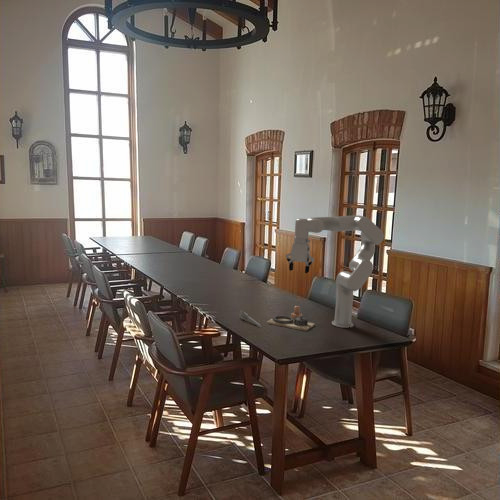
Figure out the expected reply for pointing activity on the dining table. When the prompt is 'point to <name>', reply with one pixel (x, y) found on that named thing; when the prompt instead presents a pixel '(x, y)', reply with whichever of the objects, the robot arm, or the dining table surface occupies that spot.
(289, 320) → the carrier
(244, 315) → the caliper
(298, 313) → the planet gear
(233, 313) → the dining table surface
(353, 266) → the robot arm
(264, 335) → the dining table surface
